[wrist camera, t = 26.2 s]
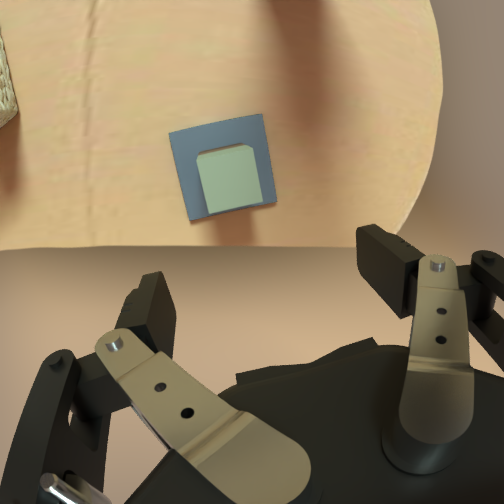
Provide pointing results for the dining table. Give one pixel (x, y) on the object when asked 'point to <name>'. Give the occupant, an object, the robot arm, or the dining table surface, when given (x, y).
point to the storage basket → (6, 91)
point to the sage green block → (229, 178)
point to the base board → (215, 136)
